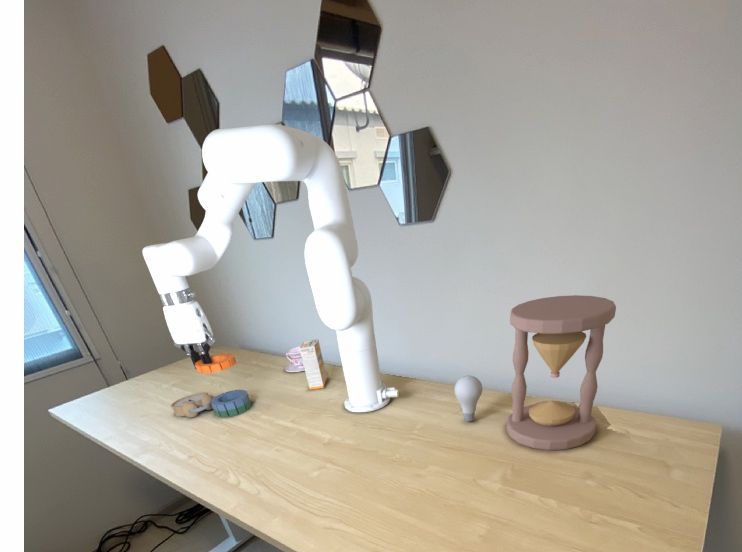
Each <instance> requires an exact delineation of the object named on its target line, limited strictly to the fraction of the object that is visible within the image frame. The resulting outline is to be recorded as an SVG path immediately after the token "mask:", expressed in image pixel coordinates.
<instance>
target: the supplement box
mask: <svg viewBox="0 0 742 552" xmlns="http://www.w3.org/2000/svg"><path fill="white" fill-rule="evenodd" d="M300 346H301V347H300V353H301V357H302V361H303V365H304V368H305V371H304V373H305V376H306V381H307V385H308V388H309V390H319V389H324V388H325V385H326V383H327V380H328V376H327V372H326V367H325V363H324V358H323V354H322V350H321V345H320V341H319V338H316V339H309V340H304V341H303V342H302V344H301V345H300Z"/></svg>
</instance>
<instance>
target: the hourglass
mask: <svg viewBox="0 0 742 552" xmlns="http://www.w3.org/2000/svg"><path fill="white" fill-rule="evenodd" d="M616 311H617V305H616V304H615V302H614V301H613V300H612V299H609V298H605V297H603V296H602V297H601V296H594V295H578V294H577V295H576V294H575V295H557V296H547V297H542V298H537V299H536V298H535V299H531V300H527V301H525V302H521V303H519V304H517V305H516V306H514V307H512V308H511V309H510V313H509V324H510V326H512V327H513V328H514V329H515V334H514V347H513V351H512V364H513V369H514V372H515V375H514V379H513V381H512V385H511V399H512V400H511V401H512V412H511V414H510V415H509V416H507V420H506V433H507V434H508V435H509V437H510V438H511V439H512V440H514V441H515V442H516V443H518V444H519V445H522V446H525V447H528V448H532V449H534V450H535V449H536V450H537V449H538V450H544V451H559V450H560V451H561V450H562V451H563V450H569V449H573V448H576V447H577V448H578V447H580V446H582V445H584V444H585V443H587V442H589V441H591V439H592V438H593V436H594V435H595V433H596V430H597V423H596V419H595V417H594V416H593V415H592V412H593V407H594V406H593V405H594V401H595V398H596V396H597V393H598V378H597V373H596V372H597V370H598V368H599V366H600V364H601V362H602V360H603V355H604V336H605V330H606V325H608V324H610V323H611V321H612V320H613V319H614V318H615V316H616ZM589 330H590V331H589ZM585 331H589V338H588V342H587V345H586V349H585V354H584V362H585V368H586V373H585V375H584V377H583V380H582V382H581V384H580V389H579V394H580V395H579V396H580V403H579V406H577V405H576V406H575V405H572V404H569V403H567V402H564V401H560V400H543V401H539V402H536V403H534V404H529V405H525V401H526V396H527V387H528V385H527V382H526V377H525V372H526V368H527V365H528V362H529V345H528V340H529V339H528V337H529V333H532V334H533V335H532V337H531V338H532V339H531V340H532V343H533V347H535V350H536V351H537V352H538V354H539V355H540V357H541V359H542V360H543V361H544V363H545V364H546V366H547V367H548V368H549V370H550V371H551V372H550V377H551V378H553V379H554V378H555V379H556V378H559V377H560V376H561V375H560V374H561V373H560V371H561V370H562V368H564V367H565V365H566V364H567V363H568V362H569V361H570V360H571V358H572V357H573V356H574V355H575V354H576V352H577V351H578V350H579V349H580V347H581V346H582V345H583V344H584V343H585V340H586V338H587V333H585Z"/></svg>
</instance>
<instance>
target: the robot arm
mask: <svg viewBox="0 0 742 552" xmlns="http://www.w3.org/2000/svg"><path fill="white" fill-rule="evenodd" d="M201 157H202V162H203V165H204V167H205V169H206V171H207V173H206V175H205V177H204V179H203V181H202V183H201V185H200V186H199V189H198V190H197V200H198V202H199V205H200V206H201V207H202V208H203V209H204V211H205V214H204V218H203V221H202V223H201V225H200V226H199V228H198V230H197V232H196V233H195V235H194V236H191V237H185V238H181V239H176V240H172V241H170V242H162V243H156V244H149V245H147V246H144V247H143V248H142V256H143V259H144V261H145V264H146V266H147V268H148V272H149V273H150V276H151V278H152V281H153V283H154V285H155V288H156V291H157V292H158V293H157V294H158V295H159V298H160V300H161V303H162V305H163V307H162V311H163V314H164V319H165V322H166V325H167V328H168V331H169V333H170V336H171V338H172V340H173V346H174V347H175V348H178V349H180V350H182V351H183V352H185V353H186V355H187V356H189V358H190V359H191V362H192V365H193V367H194V369H195V370H196V371H197V369H196V367H195V363H196V362H197V361H199V360H202V362H203V364H212V360H211V358H210V356H211V355H210V349H211V347H212V346H213V345H214V344H215V343H217V340H216V338H215V337H214V332H213V330H212V327H211V324H210V322H209V320H208V318H207V316H206V314H205V312H204V310H203V308H202V306H201V304H200V303H199V302H198V300H195V299H194V298H196V293H195V291H191V288H190V286H189V283H188V280H187V278H186V277H189V276H193V275H196V274H199V273H201V272H205V271H209V270H211V269H213V268H214V267H215V266H216V265H217V264H218V263H219V261H220V260H221V258H222V257H223V255H224V254H225V252H226V250H227V249H228V247H229V245H230V243H231V241H232V236H233V232H234V224H235V220H236V218H237V217H238V215H239V214H240V212H241V209H242V208H243V206H244V205H245V204H246V201H247V199H248V198H249V196H250V195H251V193H252V191H253V190H254V188H255V186H256V185H257V184H258V183H270V182H271V183H272V182H303V183H304V184H305V186H306V188H307V199H308V207H309V211H310V215H311V219H312V224H313V231H312V232H311V233H310V234H309V236H308V237H307V239H306V242H305V243H304V263H305V267H306V268H305V269H306V272H307V276H308V280H309V284H310V287H311V292H312V295H313V299H314V304H315V307H316V310H317V313H318V316H319V318H320V319H321V321H322V323H323V324H324V325H325V326H326V327H327V328H329V329H331V330H333V331H335V334H336V340H337V346H338V351H339V356H340V361H341V365H342V371H343V376H344V381H345V386H346V390H347V395H348V397H347V398H345V401H343V404H344V405H343V406H344V408H345V410H347V411H349V412H352V413H371V412H374V411H377V410H380V409H382V408H384V407H385V406H386V405H388V404H389V402H390V400H391V398H399V395H400V392H399V389H397V388H396V386H394V387H388V386H386V383H385V382H384V381H382V375H381V369H380V362H379V361H380V360H379V356H378V355H379V354H378V349H377V341H376V335H375V328H374V315H373V313H374V312H373V300H372V296H371V292H370V289H369V287H368V286H367V284H366V283H365V282H364V281H363V280H362V279H360V278H358V277H356V276H353V272H352V271H353V270H352V267H353V266H354V265H355V264H356V262H357V260H358V257H359V245H358V240H357V236H356V231H355V226H354V221H353V216H352V215H353V214H352V210H351V205H350V202H349V201H350V200H349V197H348V192H347V187H346V186H347V185H346V179H345V176H344V171H343V168H342V164H341V163H340V160H339V158H338V156H337V154H336V153H335V151H334V149H333V148H332V147H331V146H330V144H328V143H327V142H326V141H325V140H323V139H322V138H320V137H319V136H317V135H315V134H313V133H311V132H308V131H305V130H302V129H299V128H295V127H291V126H287V125H283V124H278V123H263V124H255V125H254V124H253V125H247V126H238V127H225V128H224V127H223V128H217V129H214V130H212V131H211V132H209V133H208V134H207V136H206V137H205V139H204V141H203V144H202V148H201ZM196 345H197V348H198V351H197V349H196Z"/></svg>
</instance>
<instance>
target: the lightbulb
mask: <svg viewBox="0 0 742 552" xmlns="http://www.w3.org/2000/svg"><path fill="white" fill-rule="evenodd" d="M482 393H483V384H482V382H481V380H480V379H479V378H477V377H476V376H474V375H465V376H461V377H460V378H459V379H458V380H457V382H455V385H454V396H455V397H456V399H457V401H458V402H459V403H460V404H459V405H460V407H461V412H462V417H463V420H464V421H466V422H467V423H471V422H472V421H474V420H475V419H476V418H475V417H476V411H477V404H478V402H479V400H480V398H481V396H482Z"/></svg>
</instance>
